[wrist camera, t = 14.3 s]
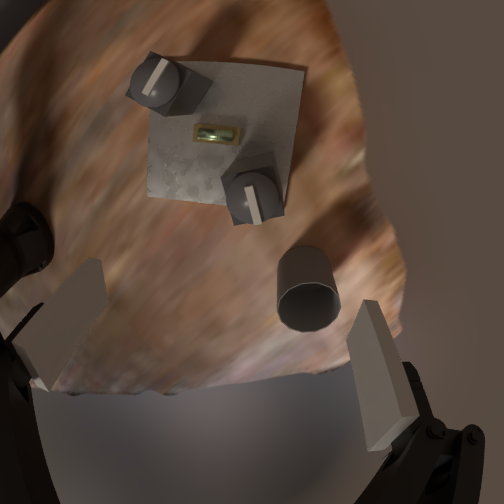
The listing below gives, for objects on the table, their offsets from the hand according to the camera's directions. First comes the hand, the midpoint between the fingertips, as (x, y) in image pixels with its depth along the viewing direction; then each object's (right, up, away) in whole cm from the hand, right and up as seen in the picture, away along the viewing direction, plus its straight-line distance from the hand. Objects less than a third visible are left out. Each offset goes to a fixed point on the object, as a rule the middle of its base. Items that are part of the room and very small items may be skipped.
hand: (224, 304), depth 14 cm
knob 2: (+2, +13, +24) cm, 28 cm away
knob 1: (-7, +24, +19) cm, 32 cm away
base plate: (-3, +18, +23) cm, 30 cm away
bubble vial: (-3, +18, +22) cm, 29 cm away
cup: (+9, 0, +32) cm, 33 cm away
